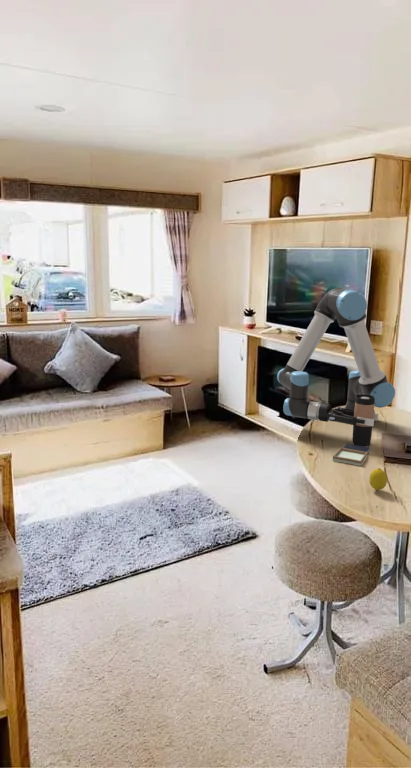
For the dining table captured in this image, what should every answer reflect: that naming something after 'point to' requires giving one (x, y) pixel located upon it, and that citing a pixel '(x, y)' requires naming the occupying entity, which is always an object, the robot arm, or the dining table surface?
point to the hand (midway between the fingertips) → (375, 420)
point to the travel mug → (364, 410)
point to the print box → (350, 456)
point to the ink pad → (357, 448)
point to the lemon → (378, 479)
